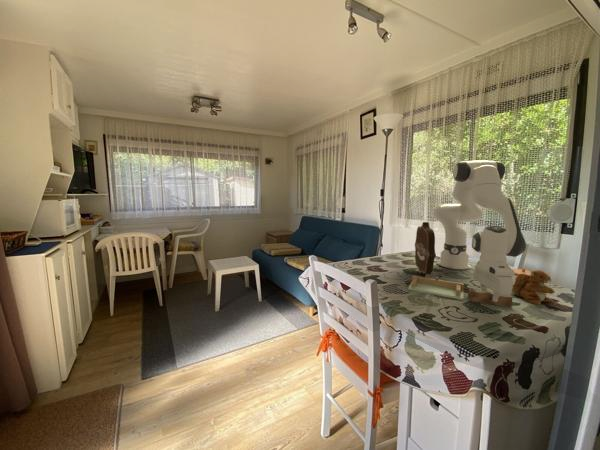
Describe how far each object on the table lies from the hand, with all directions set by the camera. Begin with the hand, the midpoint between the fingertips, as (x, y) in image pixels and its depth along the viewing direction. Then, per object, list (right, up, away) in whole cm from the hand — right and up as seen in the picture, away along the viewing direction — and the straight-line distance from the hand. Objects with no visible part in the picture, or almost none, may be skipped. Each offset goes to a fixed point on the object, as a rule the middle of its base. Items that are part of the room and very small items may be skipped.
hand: (489, 297), depth 105 cm
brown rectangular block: (0, -2, 0) cm, 2 cm away
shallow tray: (-16, 0, +12) cm, 20 cm away
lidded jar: (+28, 0, +16) cm, 33 cm away
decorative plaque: (-12, +2, +34) cm, 36 cm away
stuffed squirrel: (+20, -2, +4) cm, 21 cm away
